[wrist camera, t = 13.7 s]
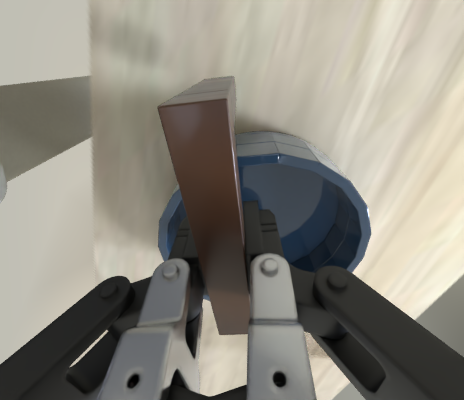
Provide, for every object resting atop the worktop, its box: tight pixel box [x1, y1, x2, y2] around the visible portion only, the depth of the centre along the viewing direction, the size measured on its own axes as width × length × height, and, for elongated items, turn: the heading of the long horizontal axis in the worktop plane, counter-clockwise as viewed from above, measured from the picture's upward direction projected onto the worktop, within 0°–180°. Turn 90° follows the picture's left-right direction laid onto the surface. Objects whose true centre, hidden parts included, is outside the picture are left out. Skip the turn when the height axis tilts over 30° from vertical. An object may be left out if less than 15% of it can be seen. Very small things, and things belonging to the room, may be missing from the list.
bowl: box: [158, 131, 371, 301], centre depth 17 cm, size 14×14×4 cm
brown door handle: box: [158, 76, 250, 335], centre depth 12 cm, size 14×5×8 cm, turn 6°
